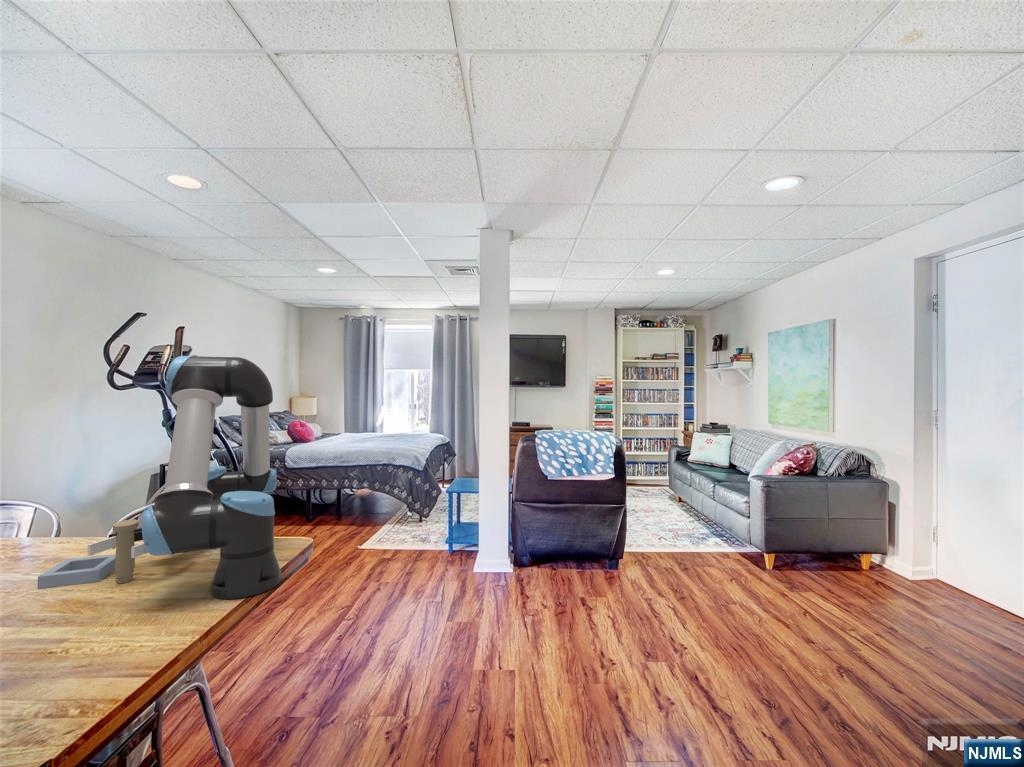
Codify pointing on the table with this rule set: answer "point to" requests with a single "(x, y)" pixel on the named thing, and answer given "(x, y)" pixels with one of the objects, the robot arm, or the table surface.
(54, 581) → the socket block
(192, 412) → the robot arm
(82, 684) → the table surface
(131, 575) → the handle
